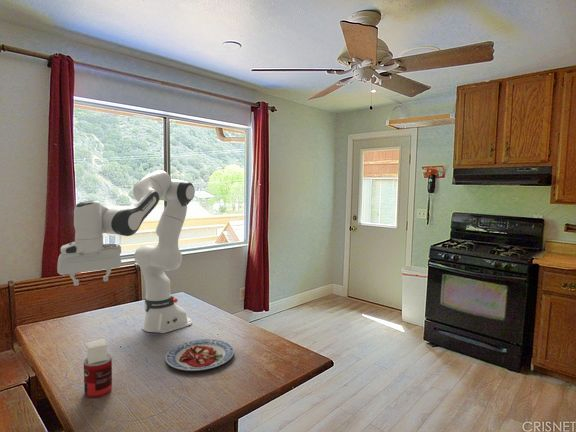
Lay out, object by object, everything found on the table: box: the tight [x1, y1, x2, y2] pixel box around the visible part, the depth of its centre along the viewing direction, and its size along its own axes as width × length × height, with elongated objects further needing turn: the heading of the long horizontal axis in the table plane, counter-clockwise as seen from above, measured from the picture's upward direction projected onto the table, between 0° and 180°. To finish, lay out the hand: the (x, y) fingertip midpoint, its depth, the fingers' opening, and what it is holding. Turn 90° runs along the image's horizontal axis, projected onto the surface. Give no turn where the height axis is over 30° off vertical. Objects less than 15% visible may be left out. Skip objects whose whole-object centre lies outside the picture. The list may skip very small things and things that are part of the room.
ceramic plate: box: [165, 338, 235, 372], centre depth 135 cm, size 26×26×3 cm
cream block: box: [86, 338, 108, 364], centre depth 110 cm, size 5×5×5 cm
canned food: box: [83, 353, 113, 399], centre depth 111 cm, size 8×8×11 cm
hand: (91, 282), depth 126 cm, fingers open, 8 cm apart
